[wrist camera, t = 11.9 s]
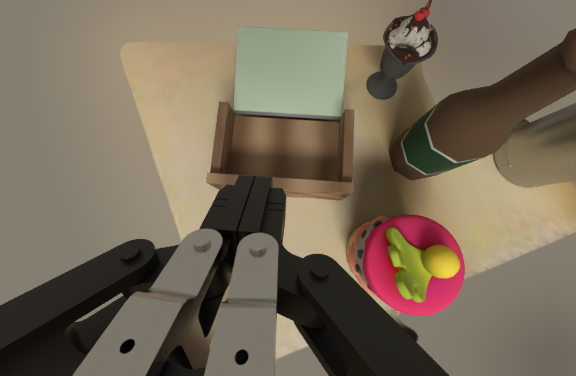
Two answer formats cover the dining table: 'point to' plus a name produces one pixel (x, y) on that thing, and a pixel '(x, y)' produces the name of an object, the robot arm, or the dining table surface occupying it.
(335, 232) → the dining table surface
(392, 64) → the sundae
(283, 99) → the pale green panel
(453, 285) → the cake
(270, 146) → the wooden box
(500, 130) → the beer bottle
